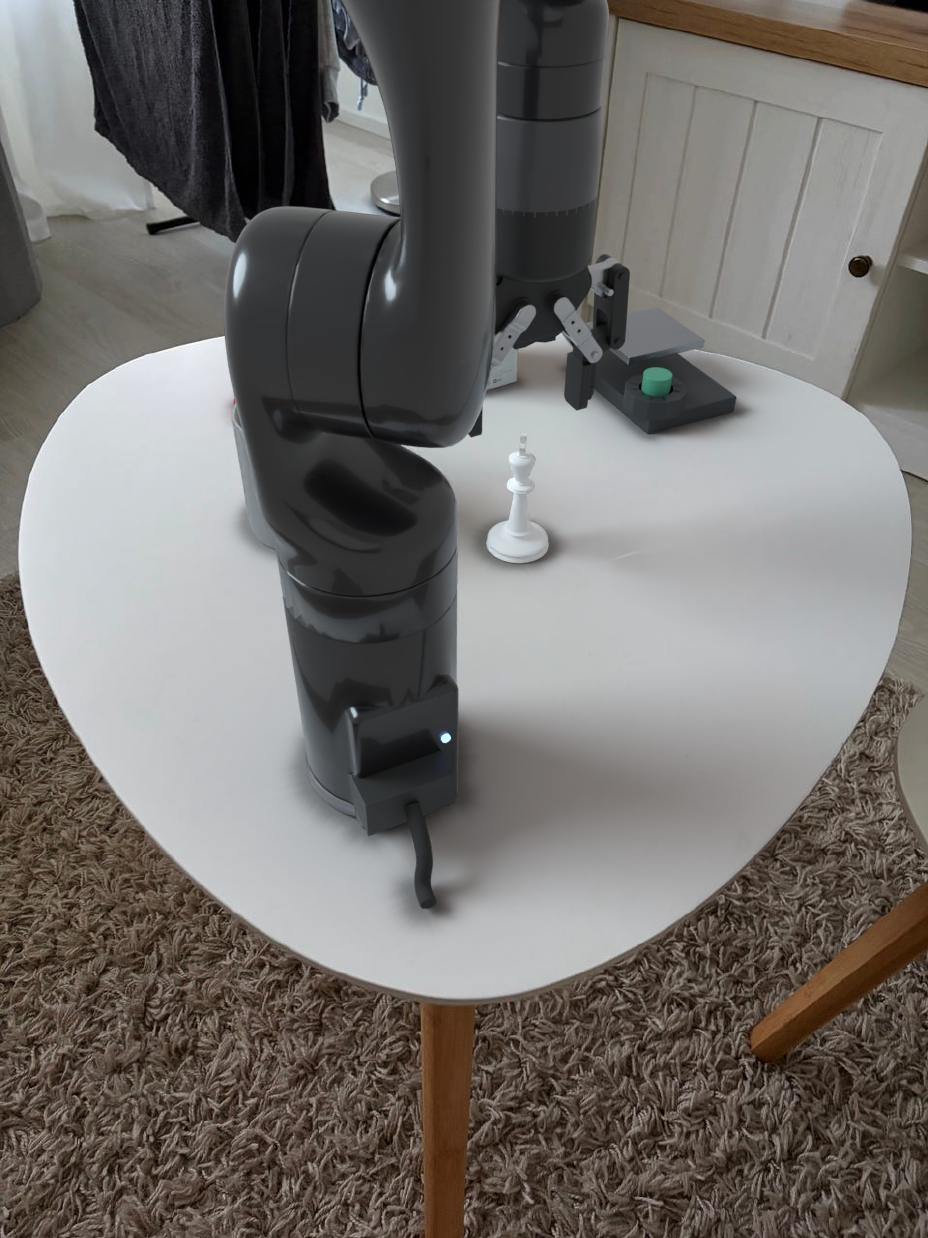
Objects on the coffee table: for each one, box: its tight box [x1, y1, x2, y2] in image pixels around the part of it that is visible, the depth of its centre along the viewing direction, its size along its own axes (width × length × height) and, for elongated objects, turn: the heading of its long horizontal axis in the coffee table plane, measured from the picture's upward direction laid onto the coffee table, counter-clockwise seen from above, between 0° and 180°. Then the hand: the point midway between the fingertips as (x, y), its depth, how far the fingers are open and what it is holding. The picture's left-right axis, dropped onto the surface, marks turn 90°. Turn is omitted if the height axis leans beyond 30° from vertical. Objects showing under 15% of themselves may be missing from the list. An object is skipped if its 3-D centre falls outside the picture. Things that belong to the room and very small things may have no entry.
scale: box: [594, 350, 738, 435], centre depth 95 cm, size 15×11×4 cm
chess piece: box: [486, 432, 550, 564], centre depth 75 cm, size 5×5×10 cm
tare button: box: [641, 367, 672, 396], centre depth 90 cm, size 3×3×2 cm
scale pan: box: [584, 307, 706, 365], centre depth 96 cm, size 8×9×1 cm
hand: (524, 417), depth 71 cm, fingers open, 8 cm apart
